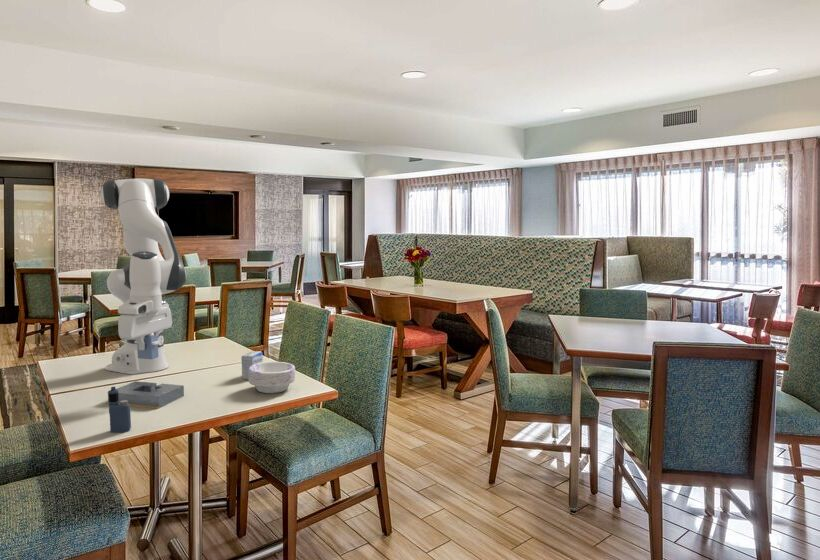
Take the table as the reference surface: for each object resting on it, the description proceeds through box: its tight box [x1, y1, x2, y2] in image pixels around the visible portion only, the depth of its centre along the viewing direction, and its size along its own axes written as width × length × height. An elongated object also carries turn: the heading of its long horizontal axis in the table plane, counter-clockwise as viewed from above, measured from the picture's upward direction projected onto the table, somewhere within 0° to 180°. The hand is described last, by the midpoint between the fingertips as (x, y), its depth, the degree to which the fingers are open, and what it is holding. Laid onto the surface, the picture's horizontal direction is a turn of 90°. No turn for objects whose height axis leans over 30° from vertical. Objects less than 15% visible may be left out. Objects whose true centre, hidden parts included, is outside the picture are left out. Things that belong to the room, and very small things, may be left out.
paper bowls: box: [248, 361, 296, 394], centre depth 183 cm, size 15×15×8 cm
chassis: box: [106, 380, 185, 409], centre depth 170 cm, size 18×13×4 cm
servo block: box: [134, 333, 161, 359], centre depth 169 cm, size 7×3×8 cm, turn 78°
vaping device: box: [107, 386, 132, 433], centre depth 145 cm, size 3×5×12 cm, turn 95°
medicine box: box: [241, 350, 264, 381], centre depth 197 cm, size 8×4×9 cm, turn 168°
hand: (147, 347), depth 170 cm, fingers closed on servo block, 3 cm apart
